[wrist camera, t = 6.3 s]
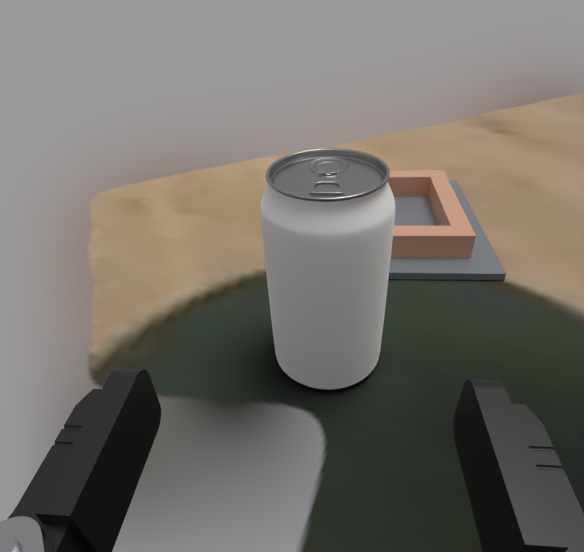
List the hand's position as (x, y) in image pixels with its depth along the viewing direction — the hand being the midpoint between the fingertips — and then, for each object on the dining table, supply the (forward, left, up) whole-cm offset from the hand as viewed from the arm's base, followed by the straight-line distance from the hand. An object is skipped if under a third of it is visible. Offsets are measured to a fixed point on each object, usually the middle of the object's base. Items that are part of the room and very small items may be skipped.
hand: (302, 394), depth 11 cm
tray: (+21, -18, -11) cm, 30 cm away
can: (+10, -6, -11) cm, 16 cm away
